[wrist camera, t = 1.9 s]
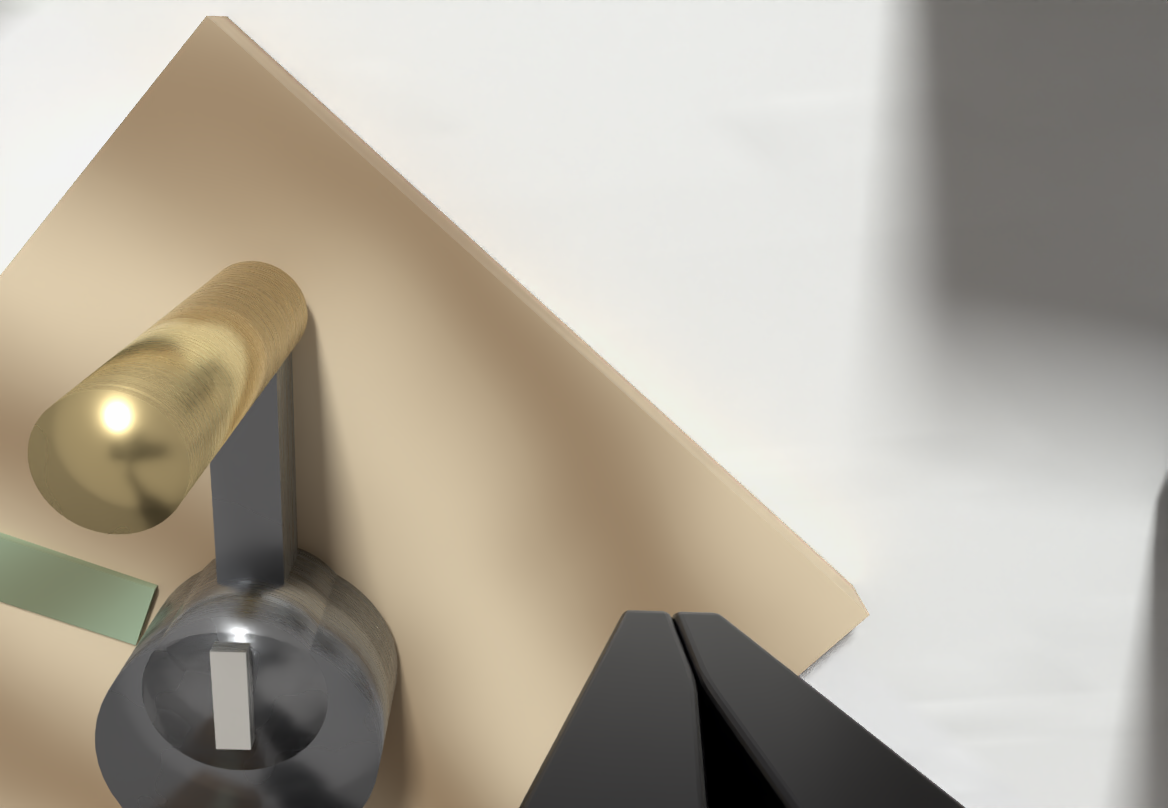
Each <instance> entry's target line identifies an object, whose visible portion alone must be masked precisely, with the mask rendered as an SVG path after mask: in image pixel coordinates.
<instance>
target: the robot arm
mask: <svg viewBox="0 0 1168 808" xmlns="http://www.w3.org/2000/svg"><path fill="white" fill-rule="evenodd" d="M519 808H965V807H964V806H963V805H961V804H960V803H959V802H958V801H956V800H955V799H954V798H952V797H951V796H950V795H949V794H947V793H946V792H945V791H944V790H942V789H941V788H940V787H939V786H937V785H936V784H935V783H933V782H932V781H931V780H930V779H928V778H927V777H926V776H925V775H923V774H922V773H921V772H919V771H918V770H917V769H916V768H914V767H913V766H912V765H911V764H909V763H908V762H907V761H906V760H904V759H903V758H902V757H900V756H899V755H898V754H897V753H895V752H894V751H893V750H892V749H890V748H889V747H888V746H887V745H885V744H884V743H883V742H881V741H880V740H879V739H878V738H876V737H875V736H874V735H873V734H871V733H870V732H869V731H867V730H866V729H865V728H864V727H862V726H861V725H860V724H859V723H857V722H856V721H855V720H854V719H852V718H851V717H850V716H848V715H847V714H846V713H845V712H843V711H842V710H841V709H840V708H838V707H837V706H836V705H834V704H833V703H832V702H831V701H829V700H828V699H827V698H826V697H824V696H823V695H822V694H821V693H819V692H818V691H817V690H815V689H814V688H813V687H812V686H810V685H809V684H808V683H807V682H805V681H804V680H803V679H802V678H800V677H799V676H798V675H796V674H795V673H794V672H793V671H791V670H790V669H789V668H788V667H786V666H785V665H784V664H782V663H781V662H780V661H779V660H777V659H776V658H775V657H774V656H772V655H771V654H770V653H769V652H767V651H766V650H765V649H763V648H762V647H761V646H760V645H758V644H757V643H756V642H755V641H753V640H752V639H751V638H749V637H748V636H747V635H746V634H744V633H743V632H742V631H741V630H739V629H738V628H737V627H736V626H734V625H733V624H732V623H730V622H729V621H728V620H727V619H725V618H724V617H723V616H721V615H720V614H717V613H710V612H677V613H675V614H674V615H673V616H672V617H671V616H670V614H669V613H667V612H665V611H646V610H627V611H625V612H624V613H623V614H622V615H621V617H620V618H619V620H618V622H617V624H616V626H615V628H614V630H613V632H612V634H611V635H610V637H609V639H608V641H607V643H606V645H605V647H604V649H603V650H602V652H601V654H600V656H599V658H598V660H597V662H596V664H595V665H594V667H593V669H592V671H591V673H590V675H589V677H588V679H587V681H586V682H585V684H584V686H583V688H582V690H581V692H580V694H579V696H578V697H577V699H576V701H575V703H574V705H573V707H572V709H571V711H570V713H569V714H568V716H567V718H566V720H565V722H564V724H563V726H562V728H561V729H560V731H559V733H558V735H557V737H556V739H555V741H554V743H553V744H552V746H551V748H550V750H549V752H548V754H547V756H546V758H545V760H544V761H543V763H542V765H541V767H540V769H539V771H538V773H537V775H536V776H535V778H534V780H533V782H532V784H531V786H530V788H529V790H528V792H527V793H526V795H525V797H524V799H523V801H522V803H521V805H520V807H519Z"/></svg>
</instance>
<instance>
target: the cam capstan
mask: <svg viewBox="0 0 1168 808" xmlns="http://www.w3.org/2000/svg"><path fill="white" fill-rule="evenodd" d="M307 320H308V310H307V304H306V300H305V298H304V295H303V293H302V291H301V289H300V288H299V286H298V285H297V283H296V282H295V281H294V280H293V279H292V278H291V277H290V276H289V275H288V274H287V273H285V272H284V271H283V270H281V269H279V268H277V267H275V266H273V265H271V264H268V263H264V262H259V261H244V262H238V263H235V264H232V265H230V266H228V267H226V268H224V269H223V270H222V271H220V272H219V273H218V274H216V275H215V276H214V277H213V278H211V279H210V280H209V281H208V282H206V283H205V284H204V285H203V286H201V287H200V288H199V289H198V290H196V291H195V292H194V293H193V294H191V295H190V296H189V297H188V298H186V299H185V300H184V301H182V302H181V303H180V304H179V305H177V306H176V307H175V308H174V309H172V310H171V311H170V312H169V313H167V314H166V315H165V316H164V317H162V318H161V319H160V320H159V321H157V322H156V323H155V324H153V325H152V326H151V327H150V328H148V329H147V330H146V331H145V332H143V333H142V334H141V335H140V336H138V337H137V338H136V339H135V340H133V341H132V342H131V343H130V344H128V345H127V346H126V347H125V348H123V349H122V350H121V351H119V352H118V353H117V354H116V355H114V356H113V357H112V358H111V359H109V360H108V361H107V362H106V363H104V364H103V365H102V366H101V367H99V368H98V369H97V370H96V371H94V372H93V373H92V374H90V375H89V376H88V377H87V378H85V379H84V380H83V381H82V382H80V383H79V384H78V385H77V386H75V387H74V388H73V389H72V390H70V391H69V392H68V393H67V394H65V395H64V396H63V397H62V398H60V399H59V400H58V401H56V402H55V403H54V404H53V405H52V406H50V407H49V408H48V409H47V410H46V411H45V412H44V413H43V414H42V415H41V416H40V417H39V419H38V420H37V422H36V423H35V425H34V427H33V430H32V432H31V435H30V438H29V442H28V463H29V468H30V472H31V475H32V478H33V481H34V483H35V485H36V487H37V489H38V490H39V492H40V493H41V495H42V496H43V497H44V499H45V500H46V501H47V502H48V503H49V504H50V506H52V507H53V508H54V509H55V510H56V511H57V512H58V513H59V514H61V515H62V516H64V517H65V518H66V519H68V520H70V521H71V522H73V523H75V524H77V525H79V526H81V527H84V528H86V529H89V530H92V531H96V532H101V533H105V534H132V533H137V532H141V531H145V530H147V529H150V528H152V527H155V526H156V525H158V524H160V523H162V522H163V521H164V520H166V519H167V518H168V517H169V516H170V515H171V514H172V513H173V512H174V511H175V510H176V509H177V508H178V506H179V505H180V503H181V502H182V501H183V499H184V498H185V497H186V495H187V494H188V492H189V491H190V490H191V488H192V487H193V486H194V484H195V483H196V482H197V480H198V479H199V477H200V476H201V475H202V473H203V472H204V471H205V469H206V468H207V466H208V465H209V464H210V475H211V491H212V507H213V523H214V540H215V556H216V558H214V559H213V560H212V561H211V562H210V563H209V564H208V565H207V566H206V567H205V568H204V569H203V570H202V571H200V572H198V573H196V574H195V575H193V576H191V577H190V578H189V579H187V580H186V581H185V582H183V583H182V584H181V585H179V586H178V587H177V588H176V589H175V590H174V592H173V593H172V594H171V595H170V596H169V597H168V598H167V600H166V601H165V602H164V604H163V605H162V607H161V608H160V610H159V611H158V613H157V614H156V616H155V617H154V619H153V621H152V622H151V624H150V625H149V627H148V628H147V630H146V632H145V633H144V635H143V636H142V638H141V640H140V641H139V643H138V644H137V646H136V647H135V649H134V651H133V652H132V654H131V655H130V657H129V658H128V660H127V662H126V663H125V665H124V666H123V668H122V669H121V671H120V673H119V674H118V676H117V677H116V679H115V681H114V682H113V684H112V685H111V687H110V688H109V690H108V692H107V694H106V696H105V698H104V700H103V702H102V704H101V707H100V710H99V713H98V717H97V721H96V729H95V750H96V755H97V760H98V765H99V767H100V770H101V773H102V776H103V778H104V780H105V782H106V784H107V786H108V788H109V790H110V791H111V793H112V795H113V796H114V797H115V799H116V800H117V801H118V803H119V804H120V805H121V807H122V808H363V807H364V805H365V804H366V802H367V801H368V799H369V797H370V795H371V792H372V790H373V788H374V785H375V782H376V778H377V774H378V770H379V765H380V760H381V755H382V750H383V745H384V740H385V736H386V731H387V726H388V721H389V716H390V711H391V706H392V701H393V696H394V691H395V686H396V681H397V669H398V666H397V654H396V649H395V645H394V641H393V638H392V635H391V633H390V630H389V628H388V626H387V624H386V622H385V621H384V619H383V617H382V615H381V614H380V612H379V611H378V610H377V608H376V607H375V606H374V605H373V603H372V602H371V601H370V600H369V599H368V598H367V597H366V596H365V595H364V594H363V593H362V592H361V591H360V590H359V589H357V588H356V587H355V586H353V585H352V584H351V583H350V582H348V581H347V580H345V579H343V578H342V577H340V576H338V575H337V574H336V573H335V572H334V571H333V570H332V569H331V568H330V567H329V566H328V565H327V564H326V563H325V562H323V561H322V560H321V559H319V558H318V557H316V556H314V555H313V554H311V553H309V552H307V551H305V550H303V549H300V548H298V533H297V501H296V469H295V436H294V404H293V372H292V350H293V349H294V347H295V346H296V345H297V343H298V342H299V341H300V339H301V338H302V336H303V334H304V332H305V329H306V325H307Z"/></svg>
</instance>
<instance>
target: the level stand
mask: <svg viewBox="0 0 1168 808" xmlns="http://www.w3.org/2000/svg"><path fill="white" fill-rule="evenodd" d="M244 261H259V262H264V263H268V264H271V265H273V266H275V267H277V268H279V269H281V270H283V271H284V272H285V273H287V274H288V275H289V276H290V277H291V278H292V279H293V280H294V281H295V282H296V283H297V285H298V286H299V288H300V289H301V291H302V293H303V295H304V298H305V300H306V304H307V310H308V320H307V325H306V329H305V332H304V334H303V336H302V338H301V339H300V341H299V342H298V343H297V345H296V346H295V347H294V349H293V350H292V372H293V404H294V436H295V469H296V501H297V533H298V548H300V549H303V550H305V551H307V552H309V553H311V554H313V555H314V556H316V557H318V558H319V559H321V560H322V561H323V562H325V563H326V564H327V565H328V566H329V567H330V568H331V569H332V570H333V571H334V572H335V573H336V574H337V575H338V576H340V577H342V578H343V579H345V580H347V581H348V582H350V583H351V584H352V585H353V586H355V587H356V588H357V589H359V590H360V591H361V592H362V593H363V594H364V595H365V596H366V597H367V598H368V599H369V600H370V601H371V602H372V603H373V605H374V606H375V607H376V608H377V610H378V611H379V612H380V614H381V615H382V617H383V619H384V621H385V622H386V624H387V626H388V628H389V630H390V633H391V635H392V638H393V641H394V645H395V649H396V654H397V666H398V669H397V681H396V686H395V691H394V696H393V701H392V706H391V711H390V716H389V721H388V726H387V731H386V736H385V740H384V745H383V750H382V755H381V760H380V765H379V770H378V774H377V778H376V782H375V785H374V788H373V790H372V792H371V795H370V797H369V799H368V801H367V802H366V804H365V805H364V807H363V808H519V807H520V805H521V803H522V801H523V799H524V797H525V795H526V793H527V792H528V790H529V788H530V786H531V784H532V782H533V780H534V778H535V776H536V775H537V773H538V771H539V769H540V767H541V765H542V763H543V761H544V760H545V758H546V756H547V754H548V752H549V750H550V748H551V746H552V744H553V743H554V741H555V739H556V737H557V735H558V733H559V731H560V729H561V728H562V726H563V724H564V722H565V720H566V718H567V716H568V714H569V713H570V711H571V709H572V707H573V705H574V703H575V701H576V699H577V697H578V696H579V694H580V692H581V690H582V688H583V686H584V684H585V682H586V681H587V679H588V677H589V675H590V673H591V671H592V669H593V667H594V665H595V664H596V662H597V660H598V658H599V656H600V654H601V652H602V650H603V649H604V647H605V645H606V643H607V641H608V639H609V637H610V635H611V634H612V632H613V630H614V628H615V626H616V624H617V622H618V620H619V618H620V617H621V615H622V614H623V613H624V612H625V611H627V610H646V611H665V612H667V613H669V614H670V616H671V617H672V616H673V615H674V614H675V613H677V612H710V613H717V614H720V615H721V616H723V617H724V618H725V619H727V620H728V621H729V622H730V623H732V624H733V625H734V626H736V627H737V628H738V629H739V630H741V631H742V632H743V633H744V634H746V635H747V636H748V637H749V638H751V639H752V640H753V641H755V642H756V643H757V644H758V645H760V646H761V647H762V648H763V649H765V650H766V651H767V652H769V653H770V654H771V655H772V656H774V657H775V658H776V659H777V660H779V661H780V662H781V663H782V664H784V665H785V666H786V667H788V668H789V669H790V670H791V671H793V672H794V673H795V674H796V675H798V676H799V675H800V674H801V673H802V672H803V671H804V670H806V669H807V668H808V667H809V666H810V665H811V664H813V663H814V662H815V661H816V660H817V659H818V658H820V657H821V656H822V655H823V654H824V653H826V652H827V651H828V650H829V649H830V648H831V647H833V646H834V645H835V644H836V643H837V642H838V641H840V640H841V639H842V638H843V637H844V636H845V635H847V634H848V633H849V632H850V631H851V630H852V629H854V628H855V627H856V626H857V625H858V624H859V623H861V622H862V621H863V620H864V619H865V618H866V617H868V616H869V613H868V611H867V610H866V608H865V606H864V604H863V603H862V601H861V599H860V597H859V596H858V594H857V592H856V591H855V589H854V587H853V585H851V584H850V583H849V582H848V581H847V580H846V579H845V578H844V577H843V576H842V575H840V574H839V573H838V572H837V571H836V570H835V569H834V568H833V567H832V566H831V565H829V564H828V563H827V562H826V561H825V560H824V559H823V558H822V557H821V556H820V555H818V554H817V553H816V552H815V551H814V550H813V549H812V548H811V547H810V546H809V545H807V544H806V543H805V542H804V541H803V540H802V539H801V538H800V537H799V536H798V535H796V534H795V533H794V532H793V531H792V530H791V529H790V528H789V527H788V526H787V525H785V524H784V523H783V522H782V521H781V520H780V519H779V518H778V517H777V516H776V515H774V514H773V513H772V512H771V511H770V510H769V509H768V508H767V507H766V506H765V505H763V504H762V503H761V502H760V501H759V500H758V499H757V498H756V497H755V496H754V495H752V494H751V493H750V492H749V491H748V490H747V489H746V488H745V487H744V486H743V485H741V484H740V483H739V482H738V481H737V480H736V479H735V478H734V477H733V476H732V475H730V474H729V473H728V472H727V471H726V470H725V469H724V468H723V467H722V466H721V465H719V464H718V463H717V462H716V461H715V460H714V459H713V458H712V457H711V456H710V455H708V454H707V453H706V452H705V451H704V450H703V449H702V448H701V447H700V446H699V445H697V444H696V443H695V442H694V441H693V440H692V439H691V438H690V437H689V436H688V435H686V434H685V433H684V432H683V431H682V430H681V429H680V428H679V427H678V426H677V425H675V424H674V423H673V422H672V421H671V420H670V419H669V418H668V417H667V416H666V415H664V414H663V413H662V412H661V411H660V410H659V409H658V408H657V407H656V406H655V405H653V404H652V403H651V402H650V401H649V400H648V399H647V398H646V397H645V396H644V395H642V394H641V393H640V392H639V391H638V390H637V389H636V388H635V387H634V386H633V385H631V384H630V383H629V382H628V381H627V380H626V379H625V378H624V377H623V376H622V375H620V374H619V373H618V372H617V371H616V370H615V369H614V368H613V367H612V366H611V365H609V364H608V363H607V362H606V361H605V360H604V359H603V358H602V357H601V356H600V355H598V354H597V353H596V352H595V351H594V350H593V349H592V348H591V347H590V346H589V345H587V344H586V343H585V342H584V341H583V340H582V339H581V338H580V337H579V336H578V335H576V334H575V333H574V332H573V331H572V330H571V329H570V328H569V327H568V326H567V325H565V324H564V323H563V322H562V321H561V320H560V319H559V318H558V317H557V316H556V315H554V314H553V313H552V312H551V311H550V310H549V309H548V308H547V307H546V306H545V305H543V304H542V303H541V302H540V301H539V300H538V299H537V298H536V297H535V296H534V295H532V294H531V293H530V292H529V291H528V290H527V289H526V288H525V287H524V286H523V285H521V284H520V283H519V282H518V281H517V280H516V279H515V278H514V277H513V276H512V275H511V274H509V273H508V272H507V271H506V270H505V269H504V268H503V267H502V266H501V265H500V264H498V263H497V262H496V261H495V260H494V259H493V258H492V257H491V256H490V255H489V254H487V253H486V252H485V251H484V250H483V249H482V248H481V247H480V246H479V245H478V244H476V243H475V242H474V241H473V240H472V239H471V238H470V237H469V236H468V235H467V234H465V233H464V232H463V231H462V230H461V229H460V228H459V227H458V226H457V225H456V224H454V223H453V222H452V221H451V220H450V219H449V218H448V217H447V216H446V215H445V214H443V213H442V212H441V211H440V210H439V209H438V208H437V207H436V206H435V205H434V204H432V203H431V202H430V201H429V200H428V199H427V198H426V197H425V196H424V195H423V194H421V193H420V192H419V191H418V190H417V189H416V188H415V187H414V186H413V185H412V184H410V183H409V182H408V181H407V180H406V179H405V178H404V177H403V176H402V175H401V174H399V173H398V172H397V171H396V170H395V169H394V168H393V167H392V166H391V165H390V164H388V163H387V162H386V161H385V160H384V159H383V158H382V157H381V156H380V155H379V154H377V153H376V152H375V151H374V150H373V149H372V148H371V147H370V146H369V145H368V144H366V143H365V142H364V141H363V140H362V139H361V138H360V137H359V136H358V135H357V134H355V133H354V132H353V131H352V130H351V129H350V128H349V127H348V126H347V125H346V124H344V123H343V122H342V121H341V120H340V119H339V118H338V117H337V116H336V115H335V114H333V113H332V112H331V111H330V110H329V109H328V108H327V107H326V106H325V105H324V104H322V103H321V102H320V101H319V100H318V99H317V98H316V97H315V96H314V95H313V94H311V93H310V92H309V91H308V90H307V89H306V88H305V87H304V86H303V85H302V84H300V83H299V82H298V81H297V80H296V79H295V78H294V77H293V76H292V75H291V74H289V73H288V72H287V71H286V70H285V69H284V68H283V67H282V66H281V65H280V64H278V63H277V62H276V61H275V60H274V59H273V58H272V57H271V56H270V55H269V54H267V53H266V52H265V51H264V50H263V49H262V48H261V47H260V46H259V45H258V44H256V43H255V42H254V41H253V40H252V39H251V38H250V37H249V36H248V35H247V34H245V33H244V32H243V31H242V30H241V29H240V28H239V27H238V26H237V25H236V24H234V23H233V22H232V21H231V20H230V19H229V18H228V17H226V16H206V17H205V19H204V20H203V21H202V22H201V24H200V25H199V26H198V27H197V29H196V30H195V31H194V33H193V34H192V35H191V36H190V38H189V39H188V40H187V41H186V43H185V44H184V45H183V46H182V48H181V49H180V50H179V51H178V53H177V54H176V55H175V56H174V58H173V59H172V60H171V61H170V63H169V64H168V65H167V66H166V68H165V69H164V70H163V72H162V73H161V74H160V75H159V77H158V78H157V79H156V80H155V82H154V83H153V84H152V85H151V87H150V88H149V89H148V90H147V92H146V93H145V94H144V95H143V97H142V98H141V99H140V100H139V102H138V103H137V104H136V105H135V107H134V108H133V109H132V110H131V112H130V113H129V114H128V116H127V117H126V118H125V119H124V121H123V122H122V123H121V124H120V126H119V127H118V128H117V129H116V131H115V132H114V133H113V134H112V136H111V137H110V138H109V139H108V141H107V142H106V143H105V144H104V146H103V147H102V148H101V149H100V151H99V152H98V153H97V154H96V156H95V157H94V158H93V160H92V161H91V162H90V163H89V165H88V166H87V167H86V168H85V170H84V171H83V172H82V173H81V175H80V176H79V177H78V178H77V180H76V181H75V182H74V183H73V185H72V186H71V187H70V188H69V190H68V191H67V192H66V193H65V195H64V196H63V197H62V199H61V200H60V201H59V202H58V204H57V205H56V206H55V207H54V209H53V210H52V211H51V212H50V214H49V215H48V216H47V217H46V219H45V220H44V221H43V222H42V224H41V225H40V226H39V227H38V229H37V230H36V231H35V232H34V234H33V235H32V236H31V237H30V239H29V240H28V241H27V243H26V244H25V245H24V246H23V248H22V249H21V250H20V251H19V253H18V254H17V255H16V256H15V258H14V259H13V260H12V261H11V263H10V264H9V265H8V266H7V268H6V269H5V270H4V271H3V273H2V274H1V275H0V808H122V807H121V805H120V804H119V803H118V801H117V800H116V799H115V797H114V796H113V795H112V793H111V791H110V790H109V788H108V786H107V784H106V782H105V780H104V778H103V776H102V773H101V770H100V767H99V765H98V760H97V755H96V750H95V729H96V721H97V717H98V713H99V710H100V707H101V704H102V702H103V700H104V698H105V696H106V694H107V692H108V690H109V688H110V687H111V685H112V684H113V682H114V681H115V679H116V677H117V676H118V674H119V673H120V671H121V669H122V668H123V666H124V665H125V663H126V662H127V660H128V658H129V657H130V655H131V654H132V652H133V651H134V649H135V647H136V646H137V644H138V643H139V641H140V640H141V638H142V636H143V635H144V633H145V632H146V630H147V628H148V627H149V625H150V624H151V622H152V621H153V619H154V617H155V616H156V614H157V613H158V611H159V610H160V608H161V607H162V605H163V604H164V602H165V601H166V600H167V598H168V597H169V596H170V595H171V594H172V593H173V592H174V590H175V589H176V588H177V587H178V586H179V585H181V584H182V583H183V582H185V581H186V580H187V579H189V578H190V577H191V576H193V575H195V574H196V573H198V572H200V571H202V570H203V569H204V568H205V567H206V566H207V565H208V564H209V563H210V562H211V561H212V560H213V559H214V558H216V556H215V540H214V523H213V507H212V491H211V475H210V464H209V465H208V466H207V468H206V469H205V471H204V472H203V473H202V475H201V476H200V477H199V479H198V480H197V482H196V483H195V484H194V486H193V487H192V488H191V490H190V491H189V492H188V494H187V495H186V497H185V498H184V499H183V501H182V502H181V503H180V505H179V506H178V508H177V509H176V510H175V511H174V512H173V513H172V514H171V515H170V516H169V517H168V518H167V519H166V520H164V521H163V522H162V523H160V524H158V525H156V526H155V527H152V528H150V529H147V530H145V531H141V532H137V533H132V534H105V533H101V532H96V531H92V530H89V529H86V528H84V527H81V526H79V525H77V524H75V523H73V522H71V521H70V520H68V519H66V518H65V517H64V516H62V515H61V514H59V513H58V512H57V511H56V510H55V509H54V508H53V507H52V506H50V504H49V503H48V502H47V501H46V500H45V499H44V497H43V496H42V495H41V493H40V492H39V490H38V489H37V487H36V485H35V483H34V481H33V478H32V475H31V472H30V468H29V463H28V442H29V438H30V435H31V432H32V430H33V427H34V425H35V423H36V422H37V420H38V419H39V417H40V416H41V415H42V414H43V413H44V412H45V411H46V410H47V409H48V408H49V407H50V406H52V405H53V404H54V403H55V402H56V401H58V400H59V399H60V398H62V397H63V396H64V395H65V394H67V393H68V392H69V391H70V390H72V389H73V388H74V387H75V386H77V385H78V384H79V383H80V382H82V381H83V380H84V379H85V378H87V377H88V376H89V375H90V374H92V373H93V372H94V371H96V370H97V369H98V368H99V367H101V366H102V365H103V364H104V363H106V362H107V361H108V360H109V359H111V358H112V357H113V356H114V355H116V354H117V353H118V352H119V351H121V350H122V349H123V348H125V347H126V346H127V345H128V344H130V343H131V342H132V341H133V340H135V339H136V338H137V337H138V336H140V335H141V334H142V333H143V332H145V331H146V330H147V329H148V328H150V327H151V326H152V325H153V324H155V323H156V322H157V321H159V320H160V319H161V318H162V317H164V316H165V315H166V314H167V313H169V312H170V311H171V310H172V309H174V308H175V307H176V306H177V305H179V304H180V303H181V302H182V301H184V300H185V299H186V298H188V297H189V296H190V295H191V294H193V293H194V292H195V291H196V290H198V289H199V288H200V287H201V286H203V285H204V284H205V283H206V282H208V281H209V280H210V279H211V278H213V277H214V276H215V275H216V274H218V273H219V272H220V271H222V270H223V269H224V268H226V267H228V266H230V265H232V264H235V263H238V262H244Z"/></svg>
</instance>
